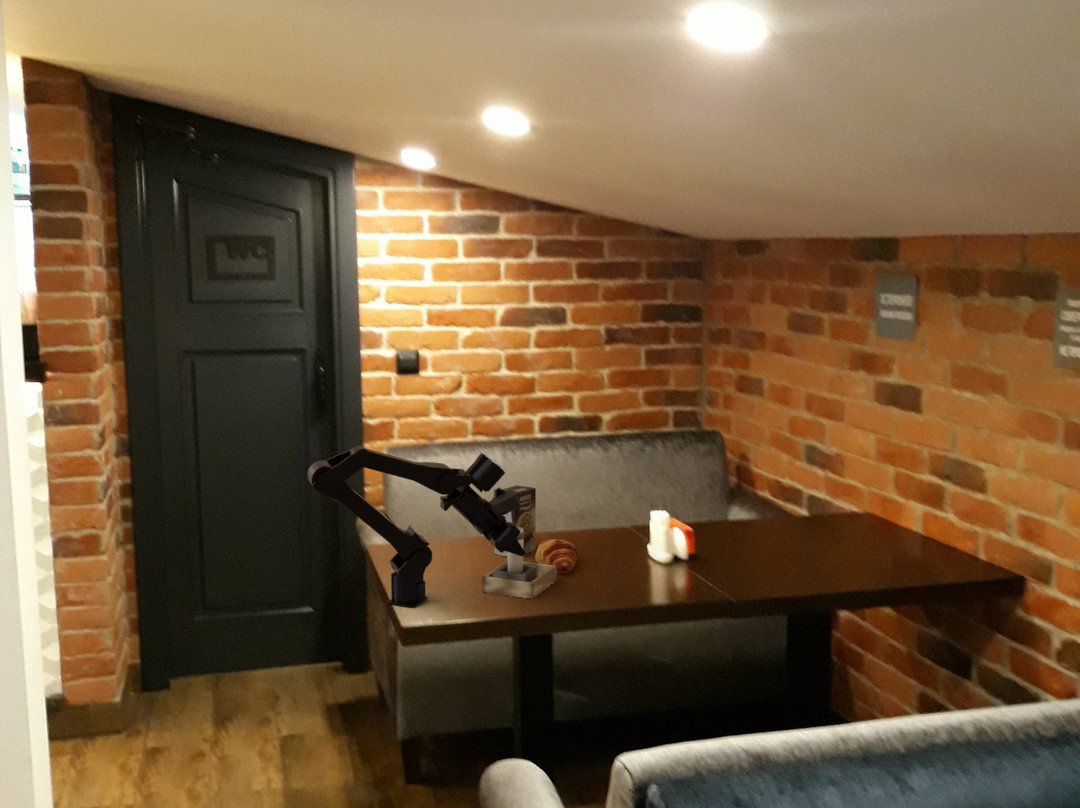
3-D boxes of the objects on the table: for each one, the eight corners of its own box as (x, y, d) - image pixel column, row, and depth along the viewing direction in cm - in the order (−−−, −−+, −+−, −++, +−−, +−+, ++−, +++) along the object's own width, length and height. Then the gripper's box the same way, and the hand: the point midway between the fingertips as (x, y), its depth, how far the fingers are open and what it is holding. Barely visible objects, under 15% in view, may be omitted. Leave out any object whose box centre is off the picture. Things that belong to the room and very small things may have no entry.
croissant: (536, 566, 267) (521, 539, 265) (570, 546, 268) (556, 519, 266) (555, 591, 246) (539, 562, 245) (592, 569, 247) (576, 540, 246)
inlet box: (482, 592, 236) (482, 571, 235) (508, 574, 249) (508, 554, 248) (532, 599, 232) (532, 578, 231) (556, 580, 244) (556, 560, 244)
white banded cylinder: (510, 584, 235) (510, 531, 234) (505, 579, 239) (505, 527, 237) (525, 583, 237) (525, 530, 235) (520, 578, 240) (520, 526, 238)
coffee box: (514, 558, 261) (514, 494, 259) (493, 554, 265) (493, 490, 263) (536, 550, 268) (536, 487, 266) (516, 546, 272) (516, 484, 270)
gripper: (511, 489, 224) (560, 536, 229) (486, 471, 242) (532, 515, 247) (475, 528, 223) (525, 575, 228) (452, 508, 240) (499, 551, 245)
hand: (521, 552), depth 237 cm, fingers closed on white banded cylinder, 3 cm apart
